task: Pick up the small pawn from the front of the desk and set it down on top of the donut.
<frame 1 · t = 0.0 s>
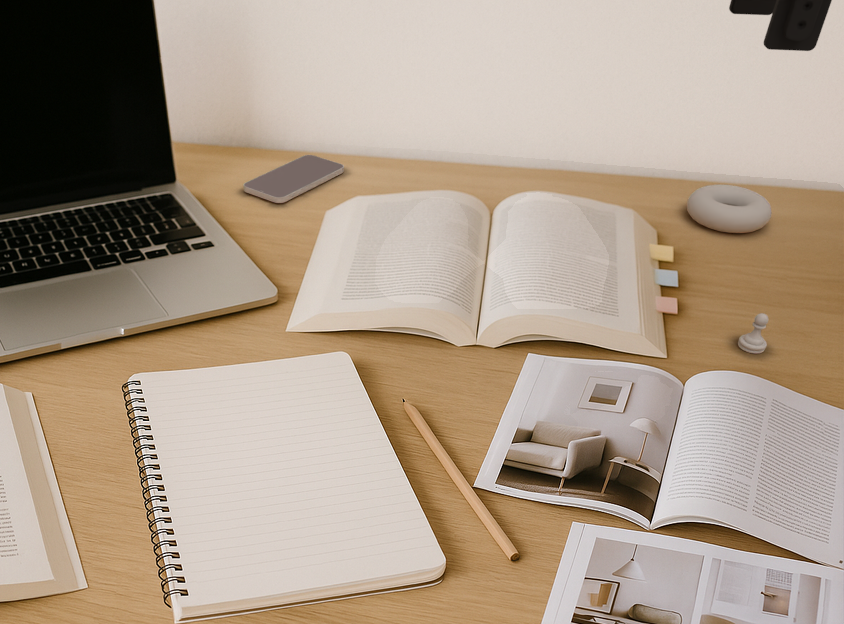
hand: (767, 30, 61), 33 cm above the table, tool pointing down, fingers open, 9 cm apart
pawn: (750, 348, 86), on the table
donut: (724, 221, 109), on the table
smartphone: (294, 182, 119), on the table
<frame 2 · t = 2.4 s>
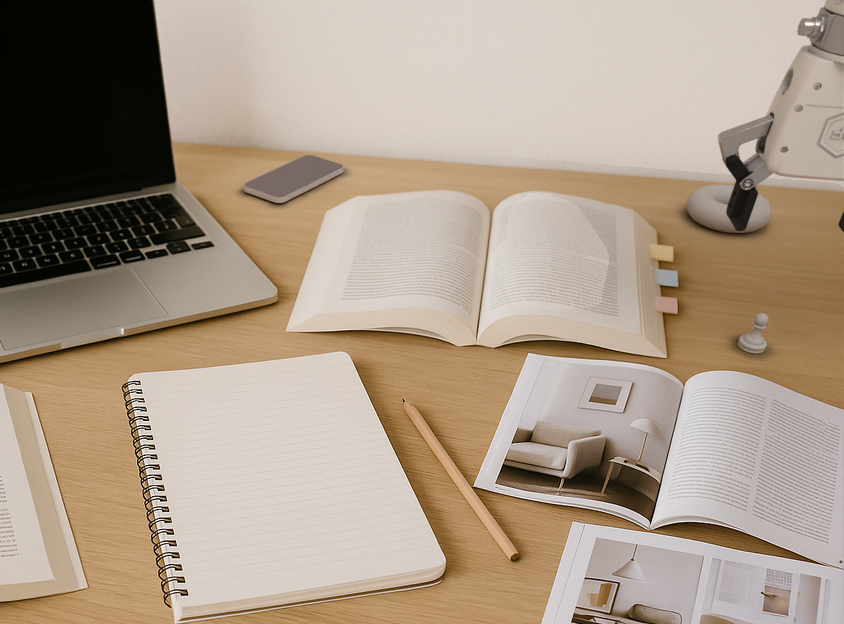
hand: (791, 229, 77), 13 cm above the table, tool pointing down, fingers open, 9 cm apart
nothing on the table moved.
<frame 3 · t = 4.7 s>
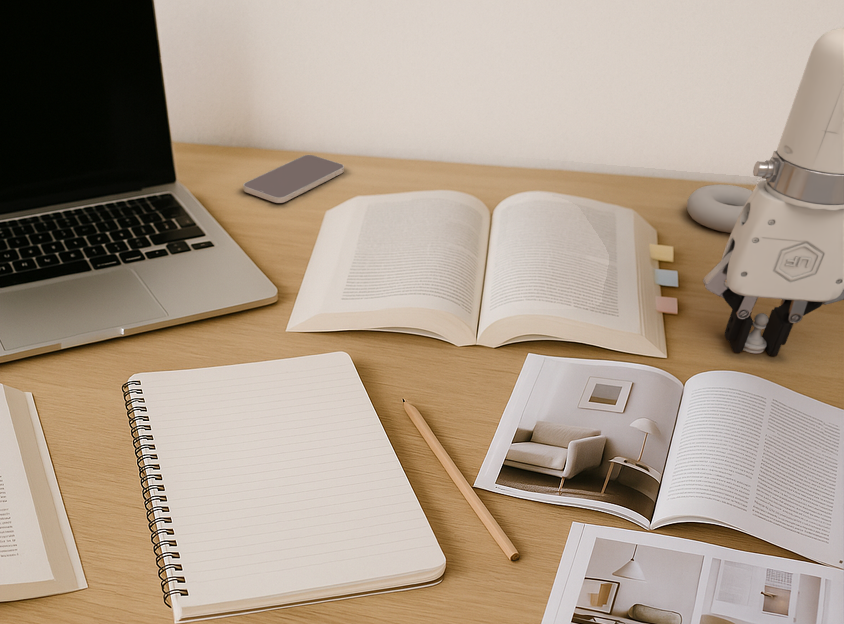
hand: (751, 345, 85), 0 cm above the table, tool pointing down, fingers closed on pawn, 2 cm apart
pawn: (750, 348, 86), on the table, touching gripper
everything else where it was.
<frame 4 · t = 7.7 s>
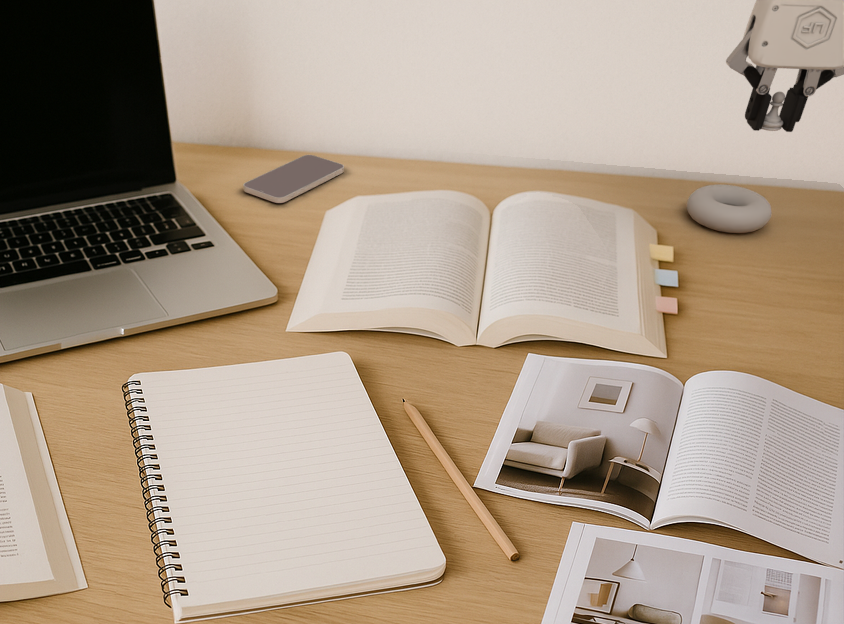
hand: (769, 125, 94), 15 cm above the table, tool pointing down, fingers closed on pawn, 2 cm apart
pawn: (768, 128, 95), point 15 cm above the table, touching gripper
everything else where it was.
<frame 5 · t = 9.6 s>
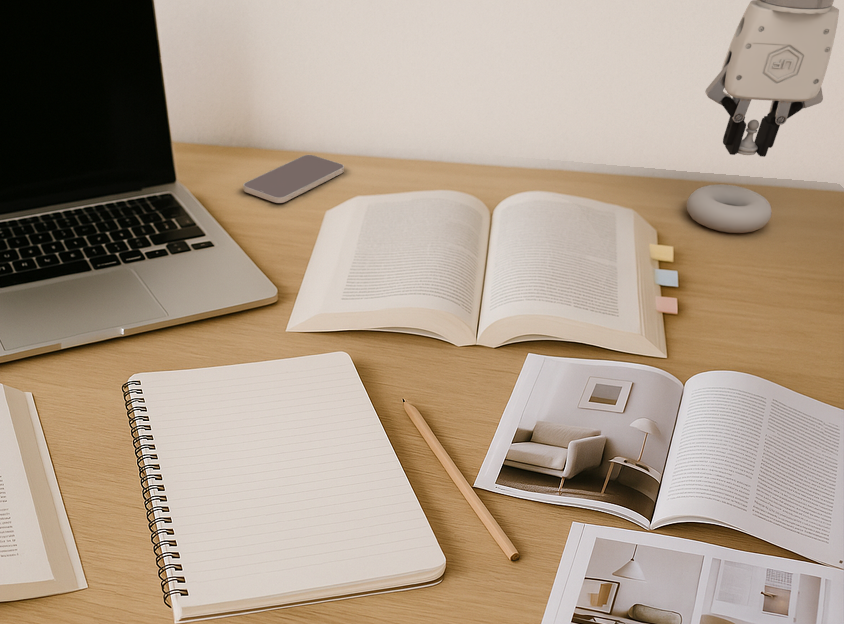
hand: (745, 150, 103), 9 cm above the table, tool pointing down, fingers closed on pawn, 2 cm apart
pawn: (744, 153, 104), point 9 cm above the table, touching gripper
everything else where it was.
when the fingers open (4 cm above the table, at t = 11.2 s): pawn stays where it is, resting on donut.
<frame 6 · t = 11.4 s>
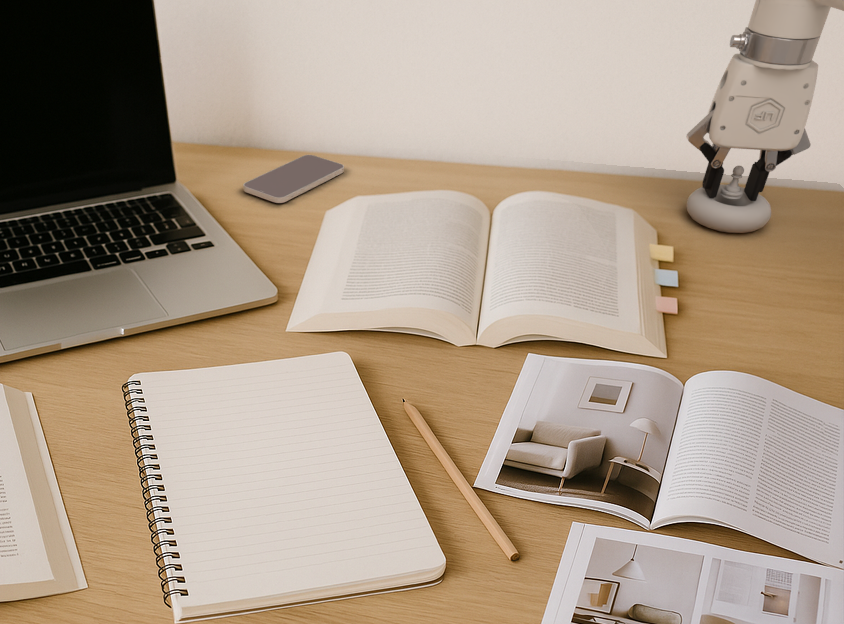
hand: (729, 193, 107), 4 cm above the table, tool pointing down, fingers open, 4 cm apart
pawn: (729, 197, 107), point 3 cm above the table, touching donut
donut: (723, 221, 109), on the table, touching pawn
everything else where it was.
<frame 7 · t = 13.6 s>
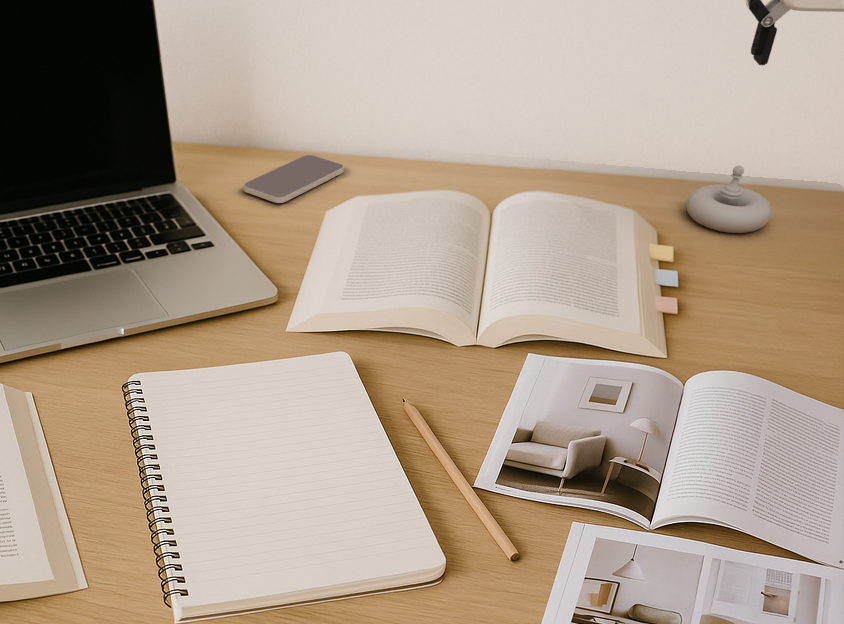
hand: (806, 62, 93), 21 cm above the table, tool pointing down, fingers open, 9 cm apart
nothing on the table moved.
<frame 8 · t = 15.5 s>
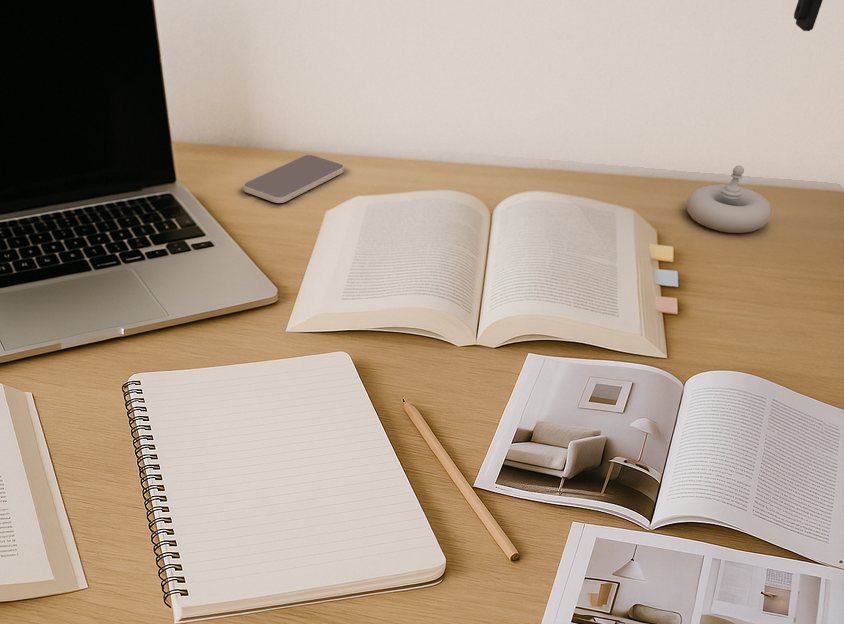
nothing on the table moved.
at the end: pawn inside the target area in the donut (0.2 cm from its centre), point 3.4 cm above the donut's base; the gripper is holding nothing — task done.
